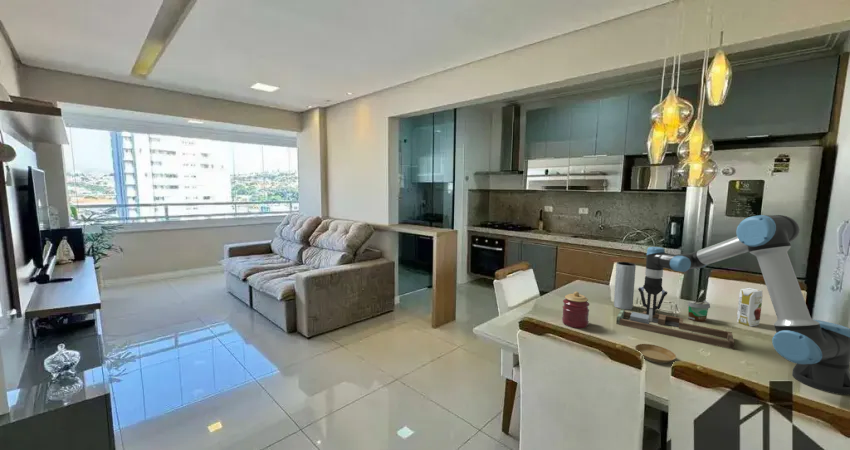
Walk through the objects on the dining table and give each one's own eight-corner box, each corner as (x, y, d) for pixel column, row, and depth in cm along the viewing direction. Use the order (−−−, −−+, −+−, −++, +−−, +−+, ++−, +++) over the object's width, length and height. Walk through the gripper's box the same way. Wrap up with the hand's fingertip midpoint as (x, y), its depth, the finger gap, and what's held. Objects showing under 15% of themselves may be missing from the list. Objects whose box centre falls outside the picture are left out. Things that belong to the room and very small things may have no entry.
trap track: (733, 349, 155) (734, 340, 154) (616, 323, 184) (616, 316, 183) (729, 333, 173) (730, 325, 172) (623, 312, 201) (623, 305, 201)
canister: (593, 326, 180) (595, 293, 178) (575, 330, 176) (576, 296, 174) (574, 317, 192) (576, 287, 190) (556, 321, 188) (558, 289, 186)
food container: (697, 323, 184) (699, 305, 183) (686, 319, 190) (687, 302, 189) (714, 321, 188) (716, 303, 187) (702, 317, 194) (704, 300, 192)
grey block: (647, 328, 178) (648, 319, 177) (629, 325, 183) (630, 315, 182) (648, 324, 184) (649, 315, 184) (631, 320, 189) (632, 311, 188)
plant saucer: (677, 356, 148) (678, 351, 148) (673, 370, 138) (673, 364, 137) (638, 346, 158) (638, 340, 158) (631, 357, 147) (631, 352, 147)
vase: (610, 305, 213) (612, 262, 210) (622, 303, 216) (625, 261, 213) (623, 310, 204) (626, 265, 201) (636, 308, 207) (639, 264, 204)
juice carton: (734, 322, 187) (737, 288, 185) (744, 320, 190) (747, 286, 188) (751, 327, 180) (755, 292, 178) (761, 325, 183) (765, 290, 181)
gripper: (669, 277, 177) (665, 321, 179) (639, 273, 185) (636, 315, 187) (668, 280, 171) (664, 325, 174) (638, 276, 179) (634, 319, 182)
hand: (650, 320), depth 181 cm, fingers closed
